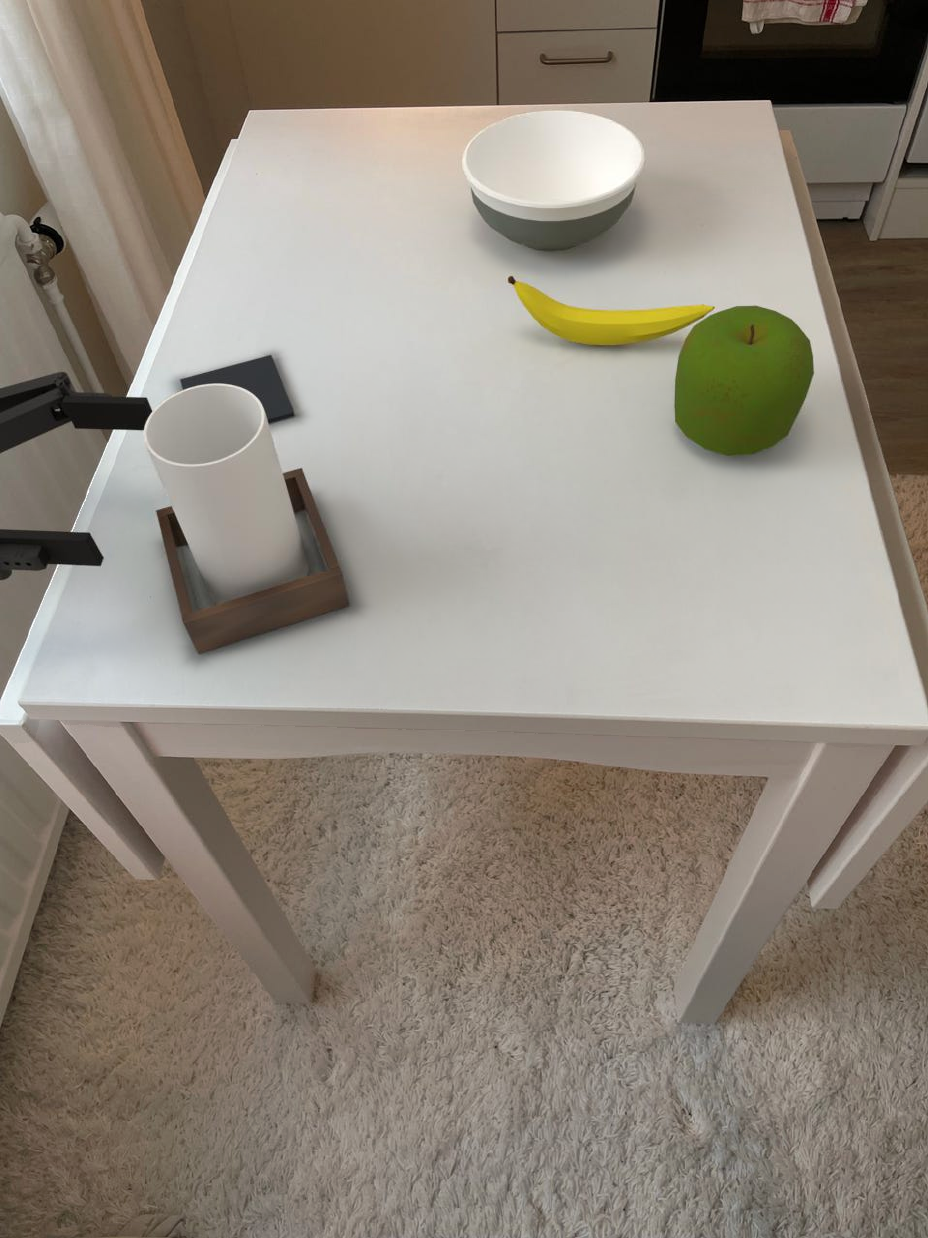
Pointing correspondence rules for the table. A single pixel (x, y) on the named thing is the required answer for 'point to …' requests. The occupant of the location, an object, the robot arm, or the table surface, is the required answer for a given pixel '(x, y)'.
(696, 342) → the apple
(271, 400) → the pad
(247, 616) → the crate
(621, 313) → the banana
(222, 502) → the cup
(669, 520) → the table surface
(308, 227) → the table surface
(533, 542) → the table surface
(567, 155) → the bowl
